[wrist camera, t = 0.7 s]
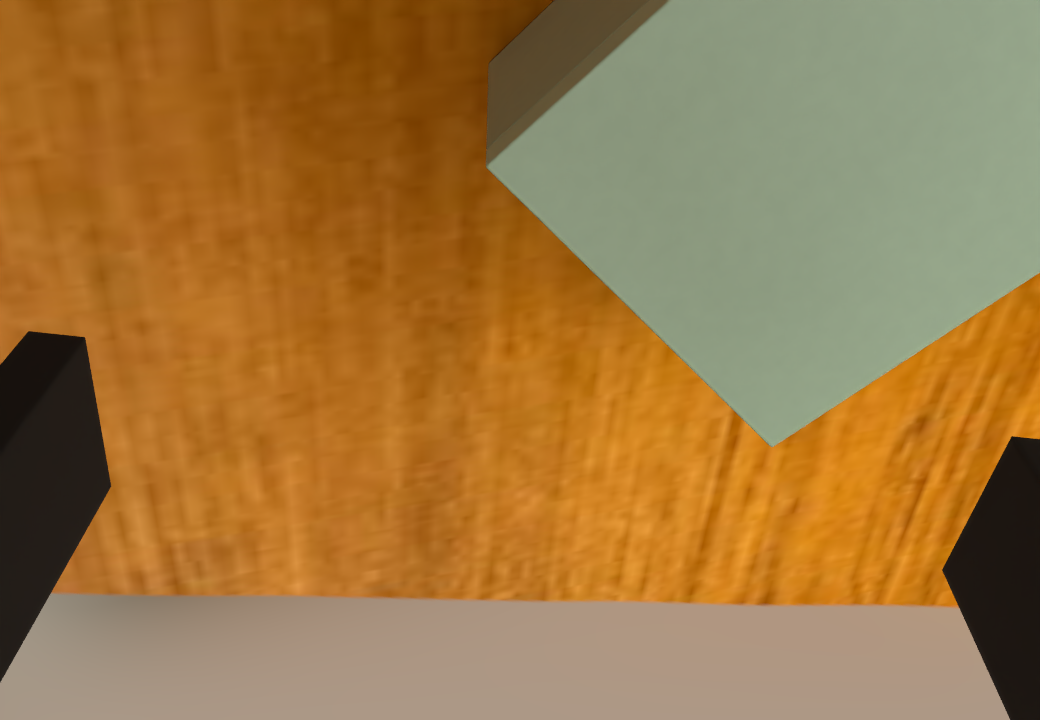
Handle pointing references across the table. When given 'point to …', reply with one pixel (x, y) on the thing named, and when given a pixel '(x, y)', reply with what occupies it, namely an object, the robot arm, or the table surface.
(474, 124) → the table surface
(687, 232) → the shelf
